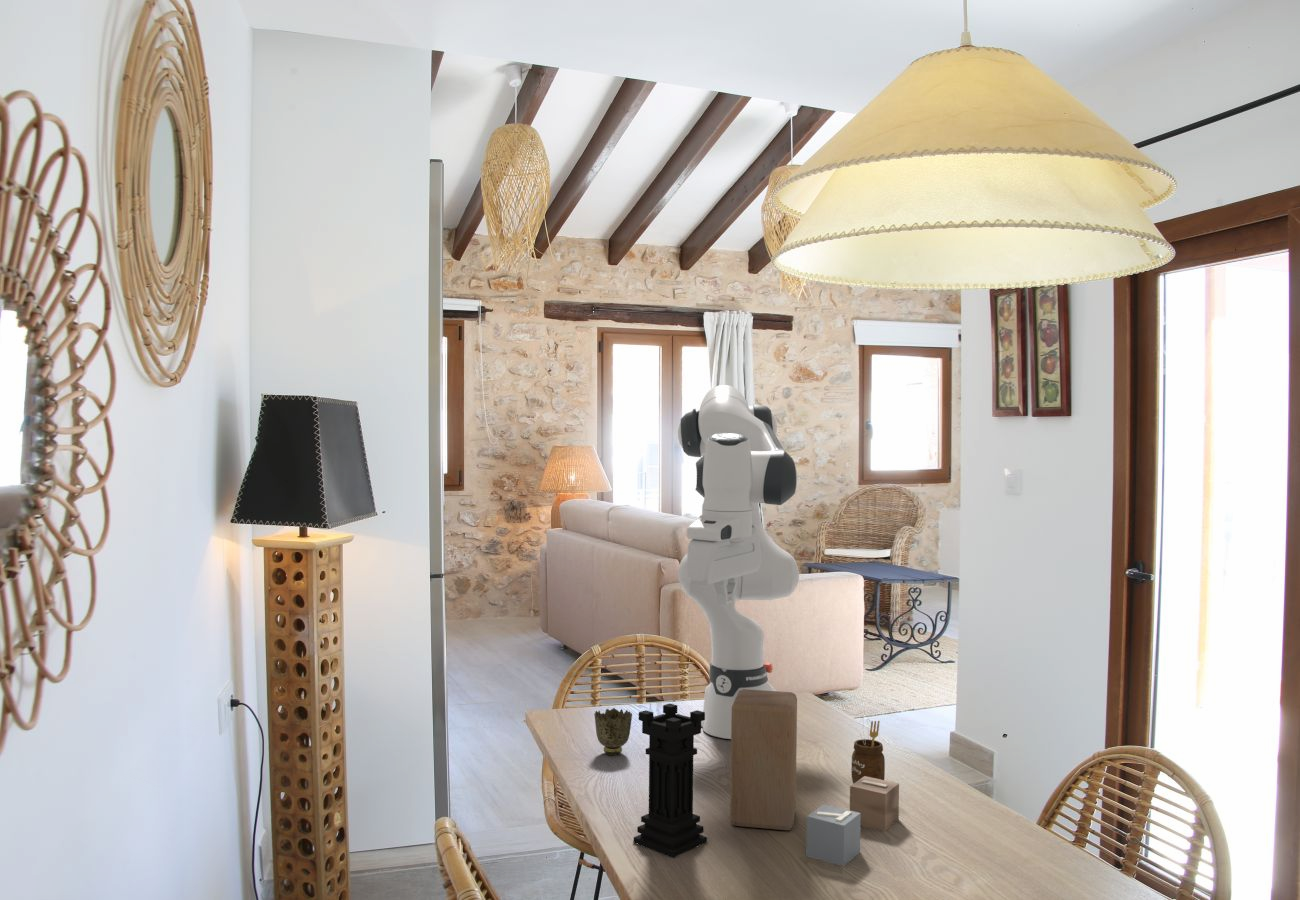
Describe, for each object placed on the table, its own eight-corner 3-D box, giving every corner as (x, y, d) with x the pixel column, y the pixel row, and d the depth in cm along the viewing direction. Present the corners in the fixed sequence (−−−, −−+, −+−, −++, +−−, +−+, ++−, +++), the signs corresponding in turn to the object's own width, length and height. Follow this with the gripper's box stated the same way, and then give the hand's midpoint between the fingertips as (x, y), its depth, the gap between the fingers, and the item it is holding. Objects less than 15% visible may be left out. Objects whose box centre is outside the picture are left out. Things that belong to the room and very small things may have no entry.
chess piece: (633, 842, 149) (634, 712, 149) (668, 827, 155) (669, 702, 155) (672, 858, 143) (674, 722, 143) (707, 842, 149) (708, 712, 149)
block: (792, 833, 153) (794, 706, 153) (729, 827, 155) (731, 702, 155) (796, 810, 163) (797, 691, 163) (736, 805, 165) (737, 687, 165)
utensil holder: (876, 775, 181) (877, 710, 181) (890, 787, 174) (891, 720, 174) (846, 776, 180) (847, 711, 180) (859, 788, 173) (859, 721, 173)
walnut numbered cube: (864, 811, 163) (864, 774, 163) (898, 820, 159) (899, 782, 159) (849, 822, 158) (850, 784, 158) (884, 831, 154) (885, 792, 154)
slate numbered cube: (823, 843, 150) (823, 802, 150) (860, 852, 146) (860, 811, 146) (806, 856, 145) (806, 814, 145) (843, 866, 141) (844, 823, 141)
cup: (619, 745, 197) (619, 706, 197) (638, 755, 191) (639, 714, 191) (587, 751, 193) (587, 711, 193) (606, 761, 187) (606, 720, 186)
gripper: (739, 519, 182) (738, 592, 183) (681, 529, 165) (680, 610, 166) (770, 521, 179) (768, 596, 179) (713, 532, 162) (711, 615, 162)
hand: (725, 603), depth 172 cm, fingers closed
